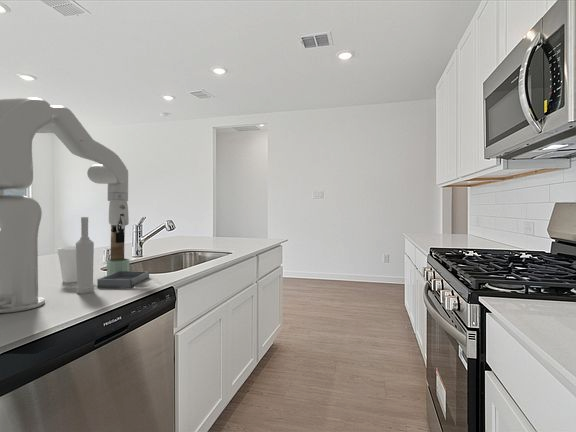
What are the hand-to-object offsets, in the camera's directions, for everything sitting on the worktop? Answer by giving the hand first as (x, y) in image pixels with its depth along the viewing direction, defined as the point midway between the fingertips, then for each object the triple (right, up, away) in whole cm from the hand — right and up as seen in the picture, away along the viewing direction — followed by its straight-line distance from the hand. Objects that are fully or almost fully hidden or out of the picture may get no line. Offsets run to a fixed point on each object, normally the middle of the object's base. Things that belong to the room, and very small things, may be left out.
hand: (117, 241), depth 138 cm
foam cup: (-11, -15, -11) cm, 22 cm away
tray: (+9, -15, -12) cm, 21 cm away
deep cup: (0, -14, +1) cm, 14 cm away
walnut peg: (0, -7, 0) cm, 7 cm away
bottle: (+2, -15, -25) cm, 29 cm away
